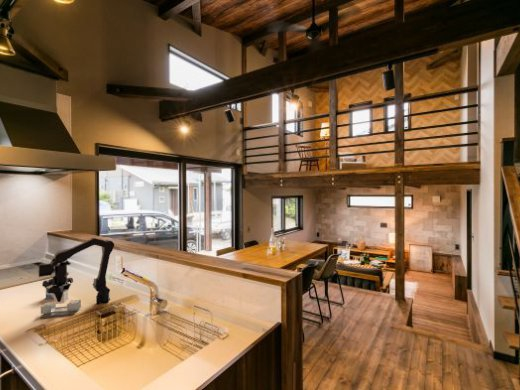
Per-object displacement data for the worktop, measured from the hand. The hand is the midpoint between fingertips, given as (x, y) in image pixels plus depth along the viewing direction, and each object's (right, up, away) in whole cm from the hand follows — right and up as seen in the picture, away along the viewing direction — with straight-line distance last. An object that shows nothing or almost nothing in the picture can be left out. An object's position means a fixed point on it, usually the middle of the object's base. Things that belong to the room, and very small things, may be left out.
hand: (61, 299), depth 159 cm
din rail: (0, -8, 0) cm, 8 cm away
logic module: (0, -1, 0) cm, 1 cm away
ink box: (-22, -8, +23) cm, 33 cm away
